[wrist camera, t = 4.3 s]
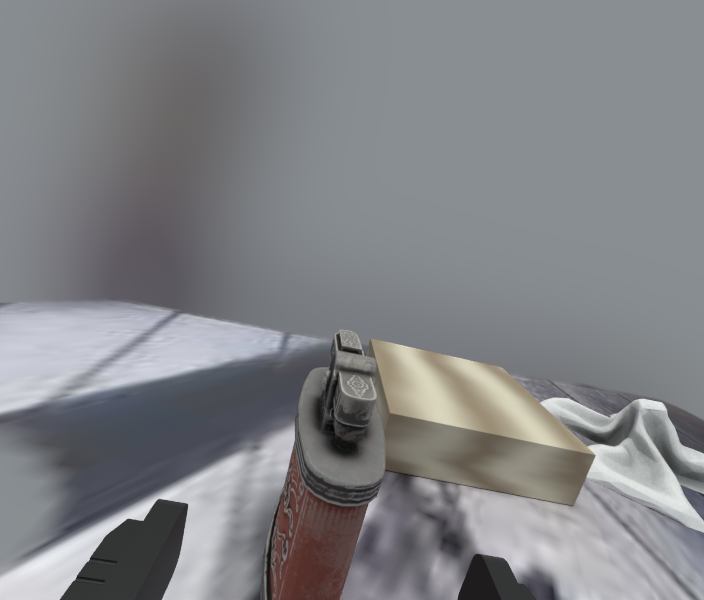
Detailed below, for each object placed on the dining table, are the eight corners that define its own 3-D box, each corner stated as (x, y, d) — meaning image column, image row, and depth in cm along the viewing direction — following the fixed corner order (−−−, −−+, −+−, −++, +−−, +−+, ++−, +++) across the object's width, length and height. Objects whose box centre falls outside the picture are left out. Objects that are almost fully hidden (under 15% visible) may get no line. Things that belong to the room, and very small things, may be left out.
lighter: (344, 675, 12) (427, 418, 10) (245, 668, 12) (310, 397, 10) (335, 495, 20) (380, 328, 18) (274, 486, 20) (314, 314, 17)
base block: (489, 401, 38) (501, 367, 37) (573, 505, 24) (595, 455, 23) (360, 374, 37) (370, 338, 36) (373, 467, 23) (390, 412, 22)
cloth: (621, 531, 24) (660, 452, 23) (495, 395, 42) (513, 346, 41) (886, 573, 27) (934, 505, 25) (660, 428, 45) (682, 383, 43)
